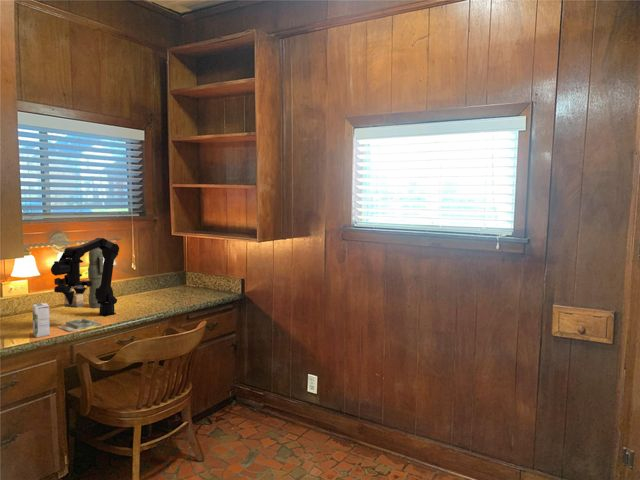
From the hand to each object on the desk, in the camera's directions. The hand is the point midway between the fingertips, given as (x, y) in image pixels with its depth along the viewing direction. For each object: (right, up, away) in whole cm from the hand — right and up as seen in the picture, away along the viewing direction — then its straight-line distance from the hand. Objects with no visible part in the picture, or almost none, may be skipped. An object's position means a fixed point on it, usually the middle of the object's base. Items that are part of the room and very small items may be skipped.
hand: (74, 303), depth 216 cm
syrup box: (-6, -13, -16) cm, 21 cm away
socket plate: (+4, -11, -1) cm, 12 cm away
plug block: (0, -2, 0) cm, 2 cm away
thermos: (-9, -8, +39) cm, 41 cm away
